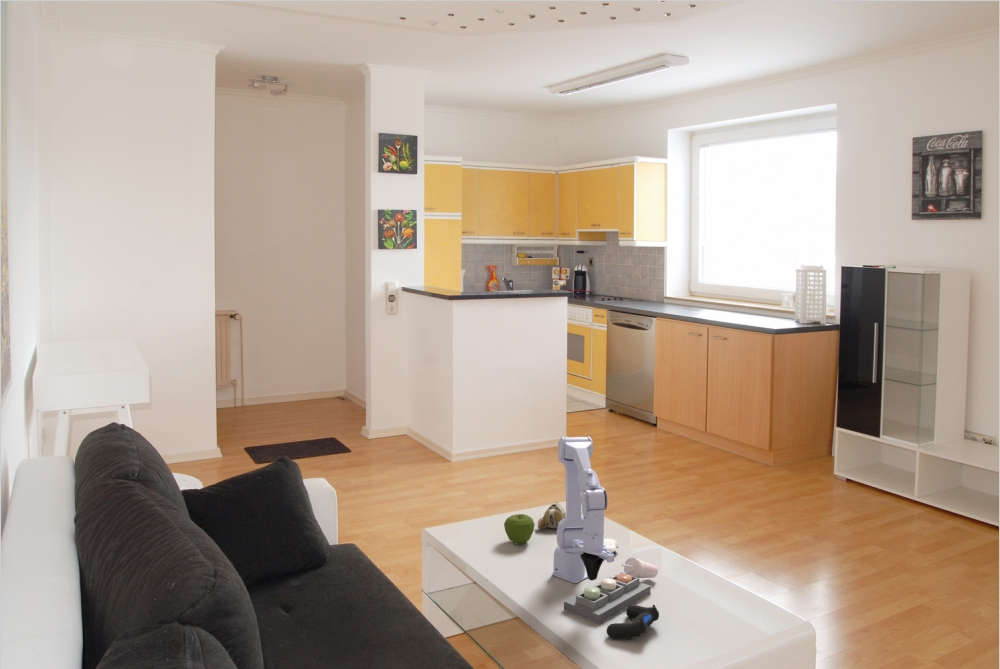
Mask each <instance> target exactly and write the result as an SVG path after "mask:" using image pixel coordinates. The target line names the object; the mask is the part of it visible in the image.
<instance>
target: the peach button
mask: <svg viewBox="0 0 1000 669" xmlns="http://www.w3.org/2000/svg"><path fill="white" fill-rule="evenodd" d="M618 574H619V573H618ZM617 581H620V582H623V583H626V584H627V583H629V582H631V581H632V577H631V576H630V575H628V574H619V575H617Z"/></svg>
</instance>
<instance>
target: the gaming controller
mask: <svg viewBox="0 0 1000 669" xmlns="http://www.w3.org/2000/svg"><path fill="white" fill-rule="evenodd" d="M655 605H656V604H652V606H650V607H646V606H642V605H635V604H632V605H630V606H628V607H627V608H625V614H626V616H627V618H629V619H631V620H632V621H631V622H627V623H626V622H625V623H624V622H622V623H621V622H620V623H619V622H617V623H616V622H614V623H610V624H608V626H607V628H606V635H607V636H608V637H609V638H610V639H612V640H631V639H634V638H638V637H640V636H642V635H645V633H646V632H647V630H648V628H649V627H650V626H651V625H652V624H653V623H654V622H656V621H658V620H659V617H660V611H659V610H658V609H657V607H656V606H655Z"/></svg>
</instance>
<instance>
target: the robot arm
mask: <svg viewBox="0 0 1000 669" xmlns="http://www.w3.org/2000/svg"><path fill="white" fill-rule="evenodd" d="M593 443H594V442H593V439H592V437H590V436H570V437H567V436H561V437H560V438H559V439H558V443H557V452H558V453H557V454H558V462H559V463H560V464H563V466H564V474H565V478H564V479H565V513H566V516H565V518H564V519H562V520H561V521H560V522H559V523H558V528H556V529H557V530H556V543H557V546H556V548H555V550H554V553H553V572H552V573H551V576H553V575H554V576H553V577H557V578H559V579H562V580H565V581H567V582H570V583H573V584H577V583H581V582H582V581H583V580H585V579H588V580H589V581H595V580H597V578H598V574H599V572H600V568H601V567H602V564H603V563H604V561H606V562H607V563H609V564H610V563H613V562H615V554H614V553H613V552H609V551H608V550H607V549H606V548H605V545H604V539H605V538H604V537H605V536H604V535H605V511H606V510H607V509H608V504H609V503H608V494H607V490H606V489H605V487H603V486H602V485H601V483H600V480H599V476H598V475H597V474H598V473H597V472H596V471H595V470H593V469H592V465H591V461H590V459H591V458H592V456H593V453H594V444H593ZM582 516H583V517H582Z"/></svg>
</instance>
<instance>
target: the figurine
mask: <svg viewBox="0 0 1000 669" xmlns="http://www.w3.org/2000/svg"><path fill="white" fill-rule="evenodd" d="M604 545H605V548H606V549H607V550H608V551H609V552H611V553H614V552H616V551H618V547H619V543H618V541H617V540H615V539H613V538H604Z"/></svg>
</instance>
